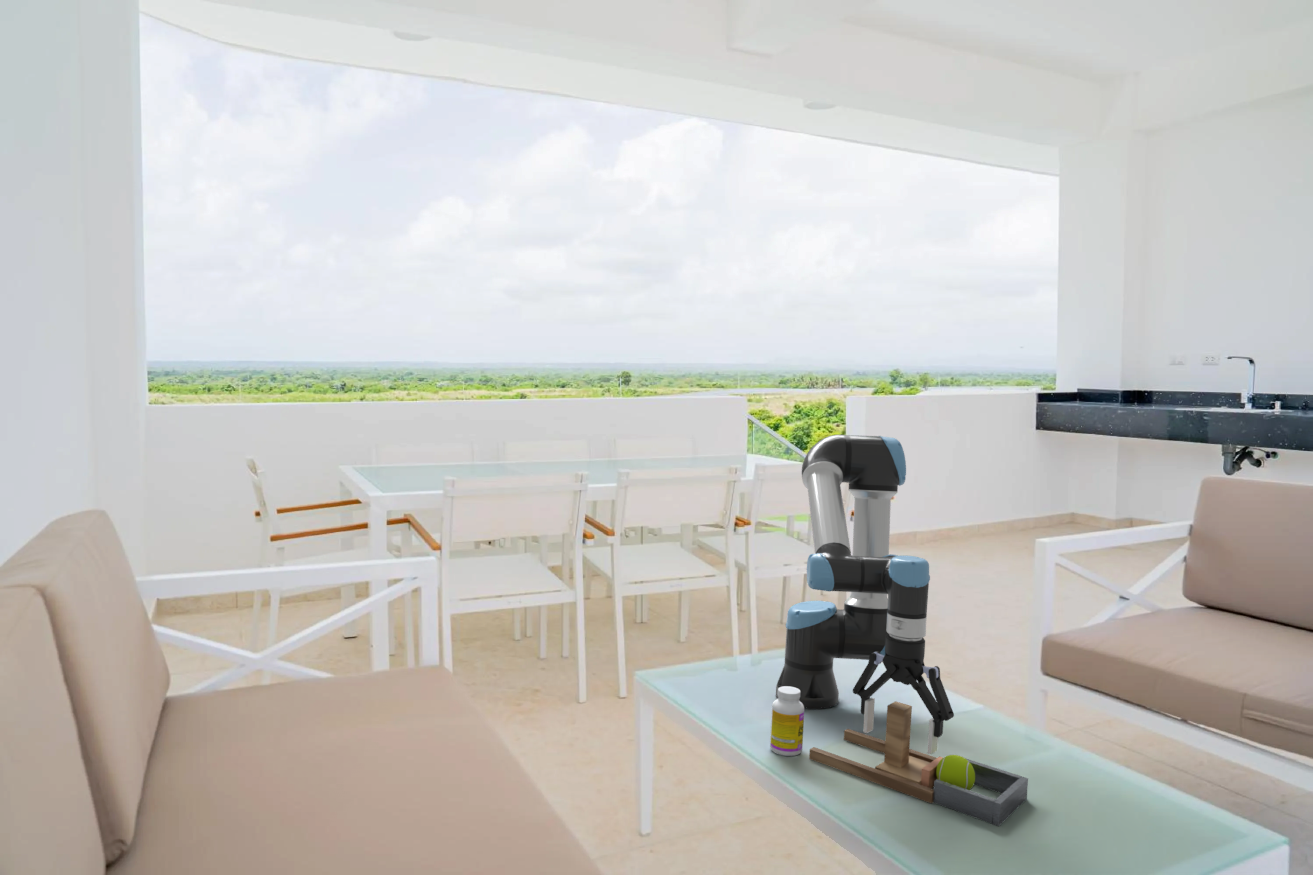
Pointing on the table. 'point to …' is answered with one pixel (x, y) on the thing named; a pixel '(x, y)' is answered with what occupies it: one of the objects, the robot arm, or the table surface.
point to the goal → (979, 804)
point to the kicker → (904, 749)
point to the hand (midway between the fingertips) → (899, 741)
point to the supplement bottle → (787, 722)
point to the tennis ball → (956, 771)
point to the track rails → (872, 773)
